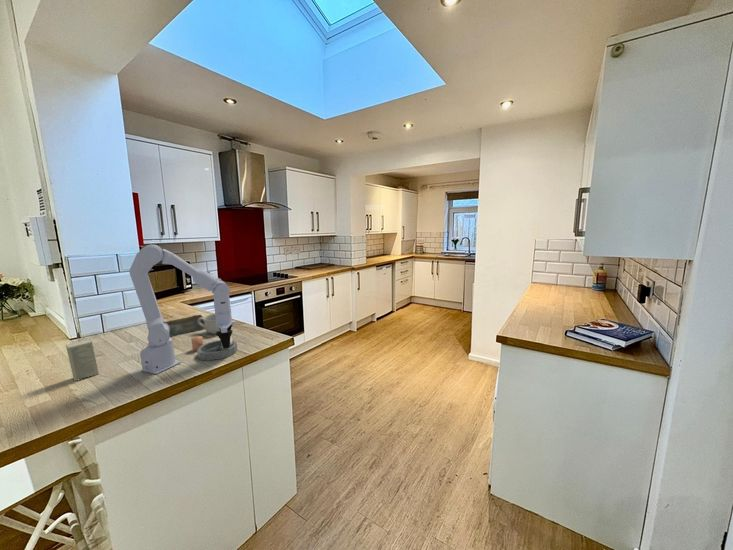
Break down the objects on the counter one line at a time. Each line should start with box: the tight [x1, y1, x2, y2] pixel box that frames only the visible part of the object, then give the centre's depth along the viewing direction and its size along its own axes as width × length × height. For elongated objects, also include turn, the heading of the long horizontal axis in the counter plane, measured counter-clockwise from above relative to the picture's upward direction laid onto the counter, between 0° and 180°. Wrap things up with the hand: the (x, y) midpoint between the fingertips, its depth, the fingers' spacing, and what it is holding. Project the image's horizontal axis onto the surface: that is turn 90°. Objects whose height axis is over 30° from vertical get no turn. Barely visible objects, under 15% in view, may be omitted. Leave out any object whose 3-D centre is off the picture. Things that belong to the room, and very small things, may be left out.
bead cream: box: [221, 335, 233, 350], centre depth 118 cm, size 4×4×5 cm
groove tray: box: [196, 339, 238, 361], centre depth 117 cm, size 14×14×3 cm
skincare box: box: [65, 338, 100, 381], centre depth 100 cm, size 6×4×12 cm
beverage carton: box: [165, 314, 206, 337], centre depth 143 cm, size 8×19×7 cm, turn 130°
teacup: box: [197, 313, 220, 335], centre depth 141 cm, size 14×11×8 cm
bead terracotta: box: [190, 335, 204, 352], centre depth 121 cm, size 4×4×5 cm
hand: (226, 344), depth 118 cm, fingers open, 7 cm apart
